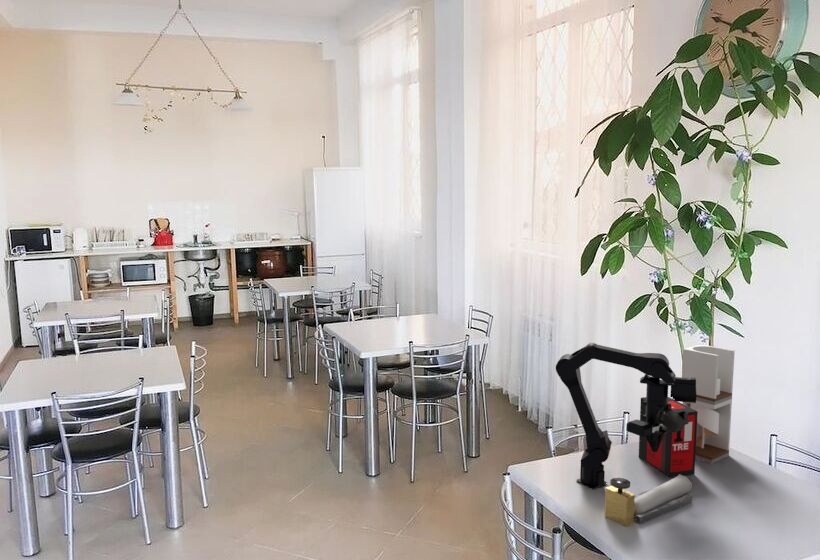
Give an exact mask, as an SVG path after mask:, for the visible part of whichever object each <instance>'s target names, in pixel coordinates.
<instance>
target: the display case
mask: <svg viewBox="0 0 820 560" xmlns="http://www.w3.org/2000/svg"><path fill="white" fill-rule="evenodd" d="M681 366H682V367H681V378H696V403H690V402H682V404H684V405H686V406H688V407H690V408H692V409H694V410H696V411H698V413H697V434H696V455H695V460H698V461H702V462H705V463H708V464H710V465H712V464H714V463H716V462H718V461H721V460H722V459H724V458H727V457H729V456H730V442H731V441H730V440H731V427H732V426H731V423H732V421H731V420H732V408H733V407H732V405H733V403H732V401H733V388H734V387H733V386H734V385H733V384H734V369H735V350H734V349H728V348H723V347H718V346H717V347H716V346H712V345H707V344H697V345H693V346H690V347H686V348H682V365H681Z"/></svg>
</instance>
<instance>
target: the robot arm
mask: <svg viewBox="0 0 820 560" xmlns="http://www.w3.org/2000/svg"><path fill="white" fill-rule="evenodd" d="M591 360H597V361H600V362H601V361H603V362H605V363H611V364H615V365H619V366H623V367H627V368H632V369H635V370H637V371H639V372H641V373H643V374H644V375H643V376H642V377H640V379H639V383H640V384H645V385H646V391H645V392H646V393H645V395H646V396H645V397H646V401H643V405H645V406H646V414H645V415H642V419H645V420H646V421H647V422H643V421H640V419H634V420H630V421H629V422H627V423H626V424H625V425H626V426H625V429H626V432H627V433H631V434H634V435H637V436H638V437H639V436H643V437H646V439H647V441H648V443H649V445H650V447H651V450H652V452H655V453H656V452H657V451H658V449H659V446H660V444H661V441H662V439H663V437H664V435H665V434H666V433H667V432H669V431H671V432H673V433H676V432H677V431H682V430H683V428H684V426H685V425H686V424H688V413H687V412H686V411H680V412H679V413H678V412H677V411H676V412H674V411H672V406H671V403H668V397H669V396H670V397H669V398H672V399H673V400H675V401H678V402H680V403H683V402H690V403H696V378H682V376H679V377H678V376H676V373H675V372H674V371H673V370H672V368H671V366H670V362H669V359H668V357H667V356H666V355H665V354H662V353H658V352H653V353H652V352H643V353H642V352H641V353H640V352H638V353H637V352H633V351H627V350H624V349H619V348H614V347H610V346H605V345H601V344H597V343H595V342H589V343H588V344H587V345H585V346H583V347H582V348H580V349H578V350H576V351H574V352H572V353H571V354H570V353H566V354H564V355H562V356H561V357H560V358H559V359H558V361H557V363H556V364H555V372H556V373H557V375H558V377H559V378H560V381H561V382H562V383H563V385H565V387H566V388H567V389H568V391H569V394H570V396H571V399H572V402H573V405H574V406H575V409H576V413H577V415H578V418H579V420H580V423H581V425H582V427H583V430H584V434H585V442H586V443H585V444H586V448H585V449H584V451H583V453H582V455H581V457H580V458H581V459H580V477H579V478H578V479H576V483H578V484H580V483H581V485H583V486H585V487H588V488H589V489H591V488H592V490H593V489H596V487H597V488H600V487H602V485H603V486H605V485H604V484H606V483H607V484H608V481H606V480H605V465H604V464H603V463H604V462H606V461H607V460H608V458H609V456H610V452H611V449H612V447H611V446H612V443H613V442H612V440H611V439H610V437H609V433H608V430H607V429H605V430H603V431H602V429H601V428H600V427H599V425H598V422H597V419H596V417H595V414H594V412H593V409H592V407H591V404H590V401H589V399H588V396H587V393H586V391H585V388H584V386H583V382H582V374H581V367H583V366H584V365H585V364H587V363H588V362H590V361H591ZM669 386H670V395H669ZM668 395H669V396H668ZM607 484H606V485H607ZM599 486H600V487H599Z"/></svg>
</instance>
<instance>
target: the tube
mask: <svg viewBox="0 0 820 560" xmlns="http://www.w3.org/2000/svg"><path fill="white" fill-rule="evenodd" d="M651 489H652V490H651ZM651 489H649V490H650V491H648V490H647V491H648V492H646V493H644V494H642V495H640V496H638V497H636V498H635V501H634V504H635V507H636V513H635V516H634V518H636V515H638V514H641V513H643V512H646V511H648V510H651V509H654V508H656V507H659V506H661V505H664V504H666V503H669V502H671V501H674V500H676V499H679V498H681V496H682V497H683V496H685V495H688V493H690V492H691V491H692V482H691V481H690V479H689V478H688V476H683V475H680V474H679V475H678V476H677V477H672V478H670V479H669V480H667V481H665V482H664V483H661V484H660V485H657V486H656V487H654V489H653V488H651Z"/></svg>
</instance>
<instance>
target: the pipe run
mask: <svg viewBox="0 0 820 560" xmlns="http://www.w3.org/2000/svg"><path fill="white" fill-rule="evenodd" d="M630 487H631V481H630V480H629V479H627V478H622V477H614V478H611V479H610V486H608V487H605V497H604V498H605V503H604V517H605V516H606V517H605V518H607V519H609V520H612V521H613V522H616V523H618V524H619V525H620V526H623V527H629V526H632V525H634V523H636V524H638V525H642V524H644V523H647V522H649V521H652V520H654V519H656V518H657V519H658V518H659V517H661V516H664V515H666V514H669V513H671V512H674V511H676V510H678V509H681V508H683V507H686V506H688V505H690V504H692V503H693V495H690V494H685V495H683V496H682V497H681V496H680V497H678V498H677V499H675V500H673V501H671V502H669V503H666V504H664V505H661V506H659V507H656V508H654V509H651V510H648V511H646V512H643V513H641V514H638V515H636V517H635V513H636V507H635V504H634V501H635V498H636V497H638V496H640V495H642V494H644V493H646V492H648V491H650V490H652V489H654V488H655V487H654V488H651V489H649V490H646V491H643V492H640V493H637V494H634V493H632V492H629V491H628V490H626V489H628V488H630Z"/></svg>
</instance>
